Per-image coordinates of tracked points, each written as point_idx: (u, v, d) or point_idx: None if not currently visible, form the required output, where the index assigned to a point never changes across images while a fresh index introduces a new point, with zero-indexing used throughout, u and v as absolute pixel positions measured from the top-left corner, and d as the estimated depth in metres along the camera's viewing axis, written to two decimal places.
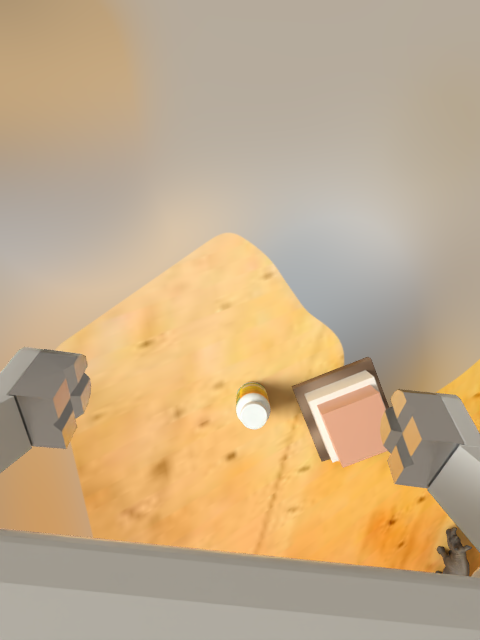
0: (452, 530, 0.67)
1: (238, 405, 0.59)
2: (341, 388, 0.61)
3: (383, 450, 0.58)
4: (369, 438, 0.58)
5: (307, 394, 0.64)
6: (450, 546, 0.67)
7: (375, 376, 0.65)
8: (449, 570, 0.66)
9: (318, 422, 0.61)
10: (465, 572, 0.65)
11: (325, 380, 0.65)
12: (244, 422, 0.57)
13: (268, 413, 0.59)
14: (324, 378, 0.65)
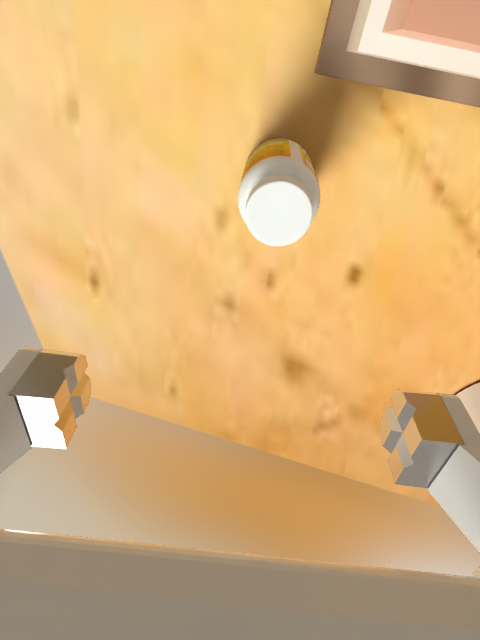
0: None
1: None
2: None
3: None
4: None
5: (350, 42, 0.24)
6: None
7: None
8: None
9: (425, 59, 0.21)
10: None
11: None
12: (277, 242, 0.24)
13: (305, 174, 0.23)
14: None
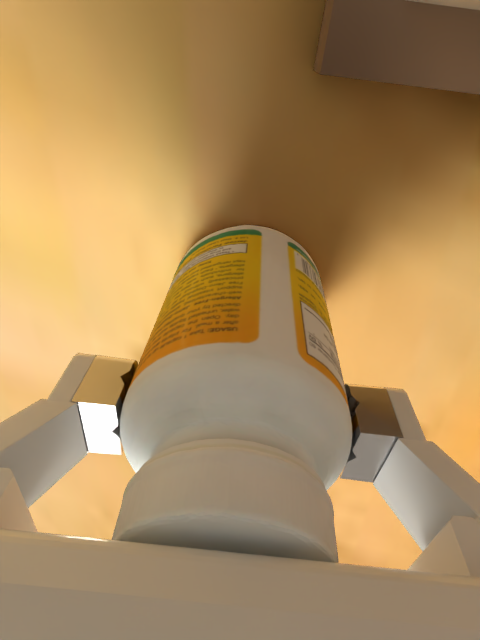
0: None
1: None
2: None
3: None
4: None
5: None
6: None
7: None
8: None
9: None
10: None
11: None
12: None
13: (305, 405, 0.07)
14: None
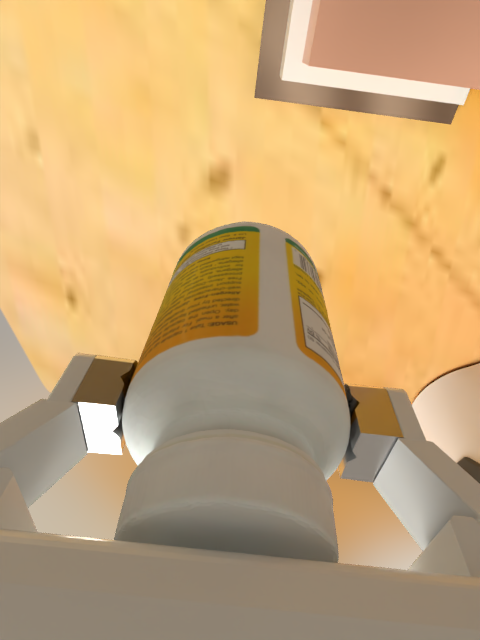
0: None
1: None
2: None
3: None
4: None
5: None
6: None
7: None
8: None
9: (345, 83, 0.23)
10: None
11: None
12: None
13: (304, 396, 0.07)
14: None
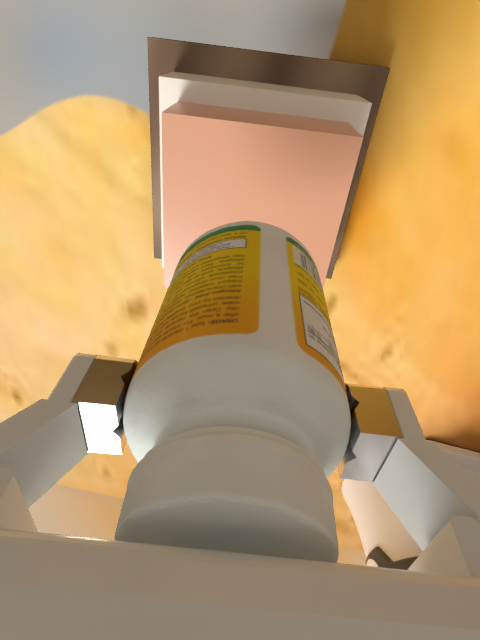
0: None
1: None
2: (161, 180, 0.23)
3: (343, 192, 0.19)
4: (283, 211, 0.19)
5: None
6: None
7: (202, 51, 0.22)
8: None
9: None
10: None
11: None
12: None
13: (304, 394, 0.07)
14: (155, 186, 0.27)
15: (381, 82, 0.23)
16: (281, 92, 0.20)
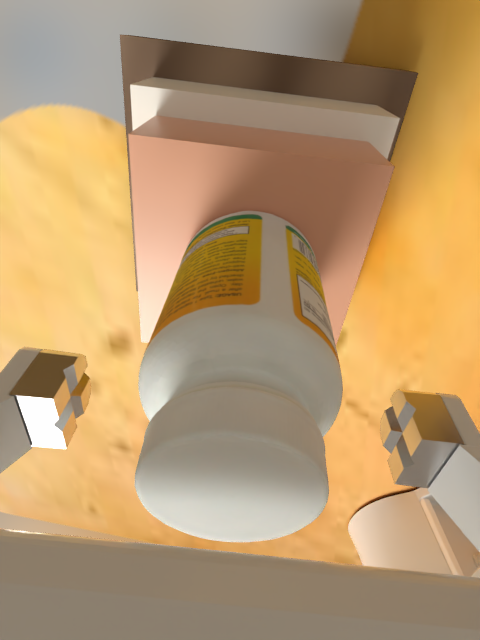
0: None
1: None
2: None
3: (365, 234, 0.14)
4: None
5: None
6: None
7: (188, 52, 0.18)
8: None
9: None
10: None
11: None
12: (237, 537, 0.09)
13: (300, 356, 0.08)
14: None
15: (407, 90, 0.18)
16: (285, 104, 0.16)
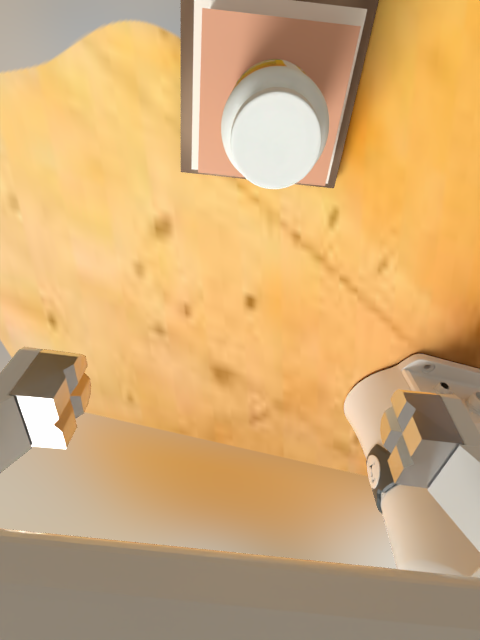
0: None
1: (237, 167, 0.20)
2: (193, 86, 0.27)
3: (345, 77, 0.23)
4: None
5: None
6: None
7: None
8: None
9: None
10: None
11: (188, 102, 0.31)
12: (277, 182, 0.18)
13: (307, 87, 0.17)
14: (184, 102, 0.31)
15: None
16: (293, 1, 0.24)
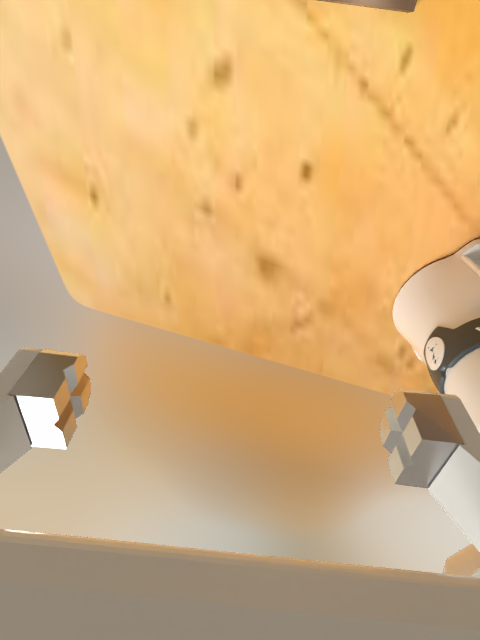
0: None
1: None
2: None
3: None
4: None
5: None
6: None
7: None
8: None
9: None
10: None
11: None
12: None
13: None
14: None
15: None
16: None
